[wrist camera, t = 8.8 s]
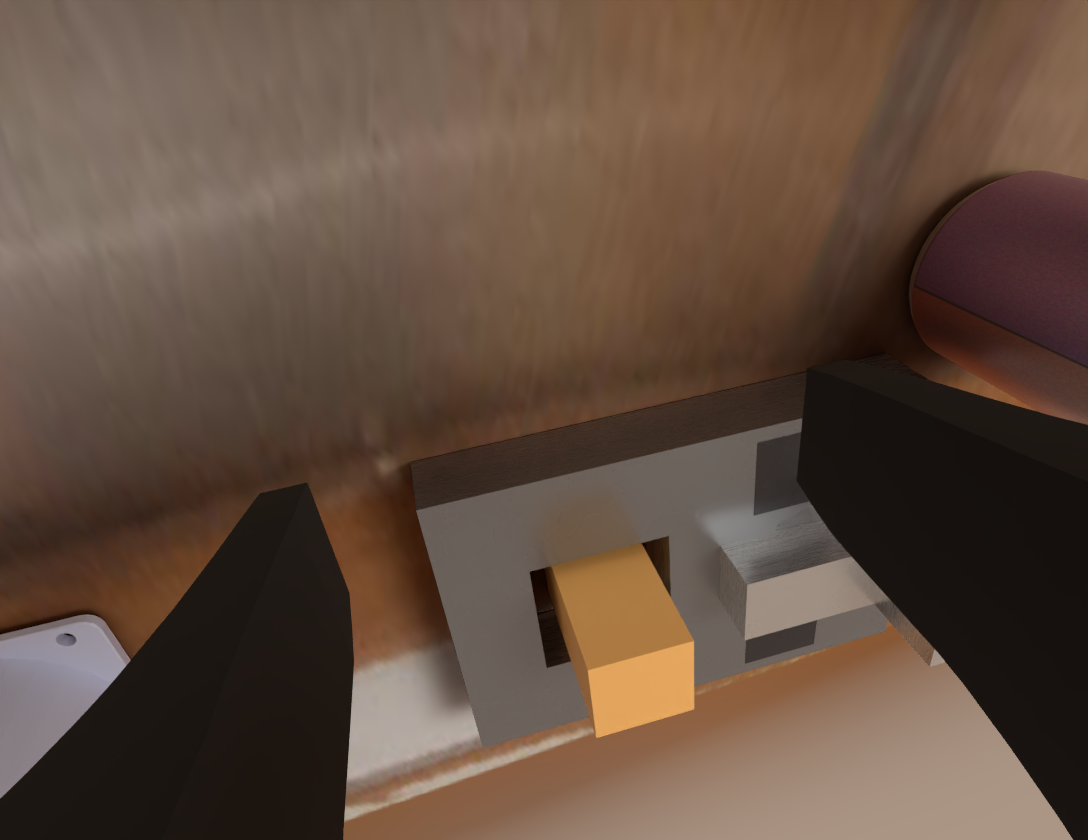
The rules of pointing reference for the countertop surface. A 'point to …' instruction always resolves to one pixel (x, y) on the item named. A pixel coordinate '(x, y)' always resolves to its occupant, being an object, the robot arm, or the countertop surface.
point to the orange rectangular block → (623, 638)
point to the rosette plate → (616, 537)
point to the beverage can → (1012, 289)
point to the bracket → (801, 585)
